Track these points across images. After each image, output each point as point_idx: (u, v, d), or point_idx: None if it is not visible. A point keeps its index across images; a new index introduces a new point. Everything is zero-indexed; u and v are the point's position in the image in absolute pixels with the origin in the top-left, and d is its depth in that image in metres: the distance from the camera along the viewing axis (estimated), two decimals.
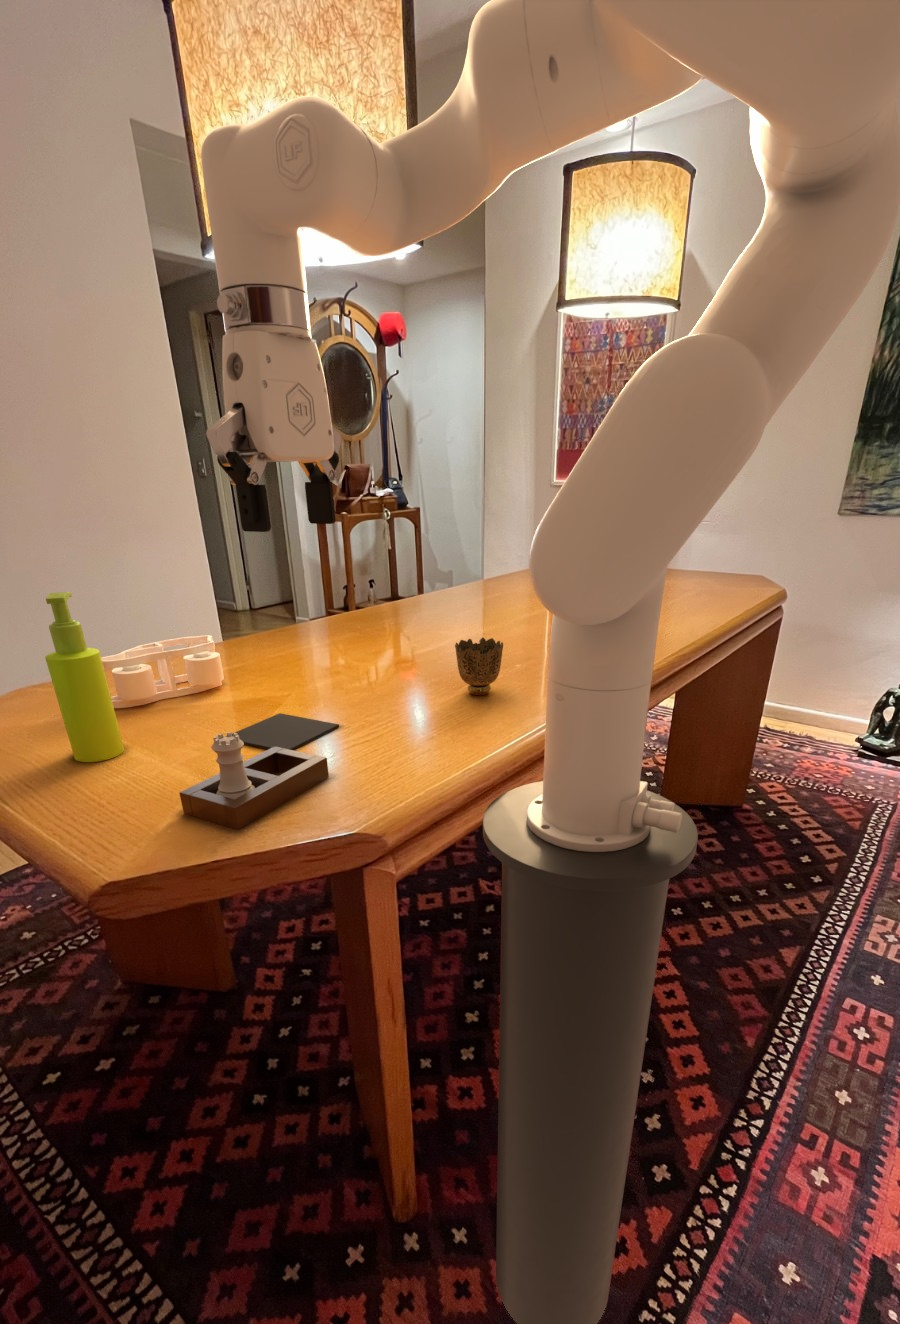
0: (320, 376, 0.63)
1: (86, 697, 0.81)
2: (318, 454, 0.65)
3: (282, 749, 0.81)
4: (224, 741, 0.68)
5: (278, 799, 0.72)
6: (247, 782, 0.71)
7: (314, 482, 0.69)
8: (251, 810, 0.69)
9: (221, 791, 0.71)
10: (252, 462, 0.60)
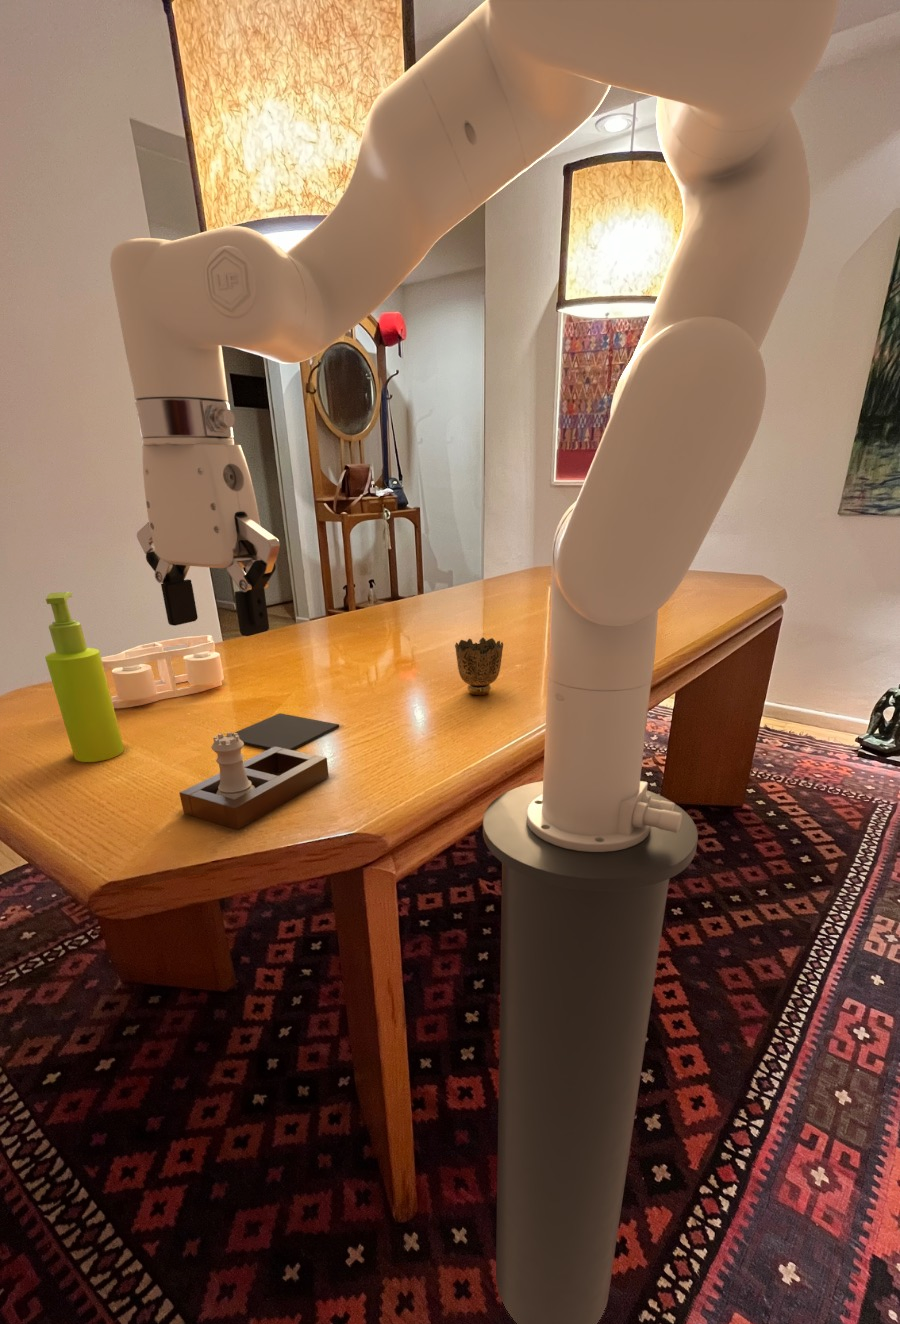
0: None
1: (86, 697, 0.81)
2: None
3: (282, 749, 0.81)
4: (224, 741, 0.68)
5: (278, 799, 0.72)
6: (247, 782, 0.71)
7: (175, 582, 0.66)
8: (251, 810, 0.69)
9: (221, 791, 0.71)
10: None
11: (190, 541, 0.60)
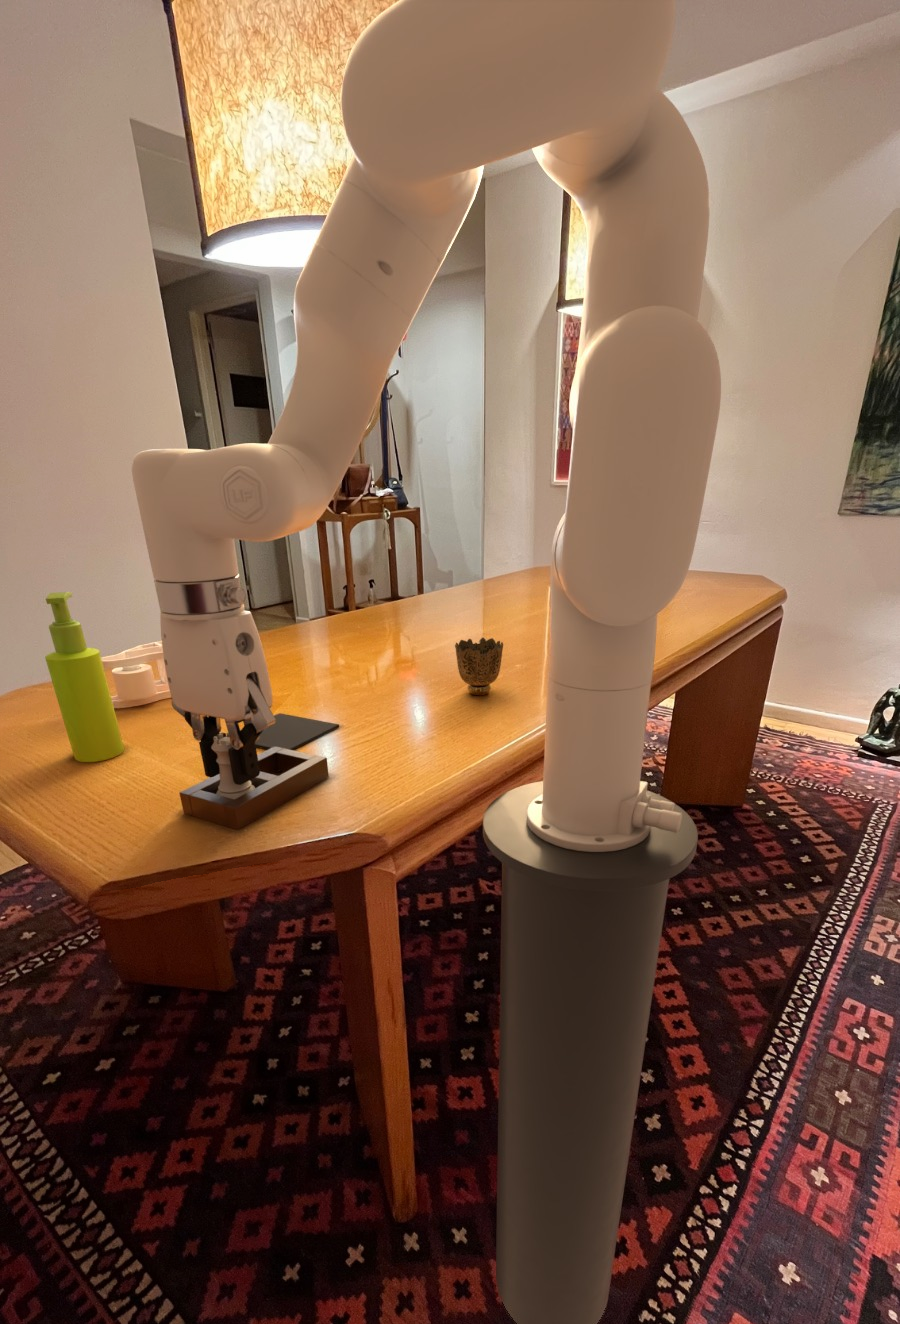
0: None
1: (86, 697, 0.81)
2: None
3: (282, 749, 0.81)
4: (224, 741, 0.68)
5: (278, 799, 0.72)
6: (247, 782, 0.71)
7: (212, 738, 0.70)
8: (251, 810, 0.69)
9: (221, 791, 0.71)
10: None
11: (205, 697, 0.65)
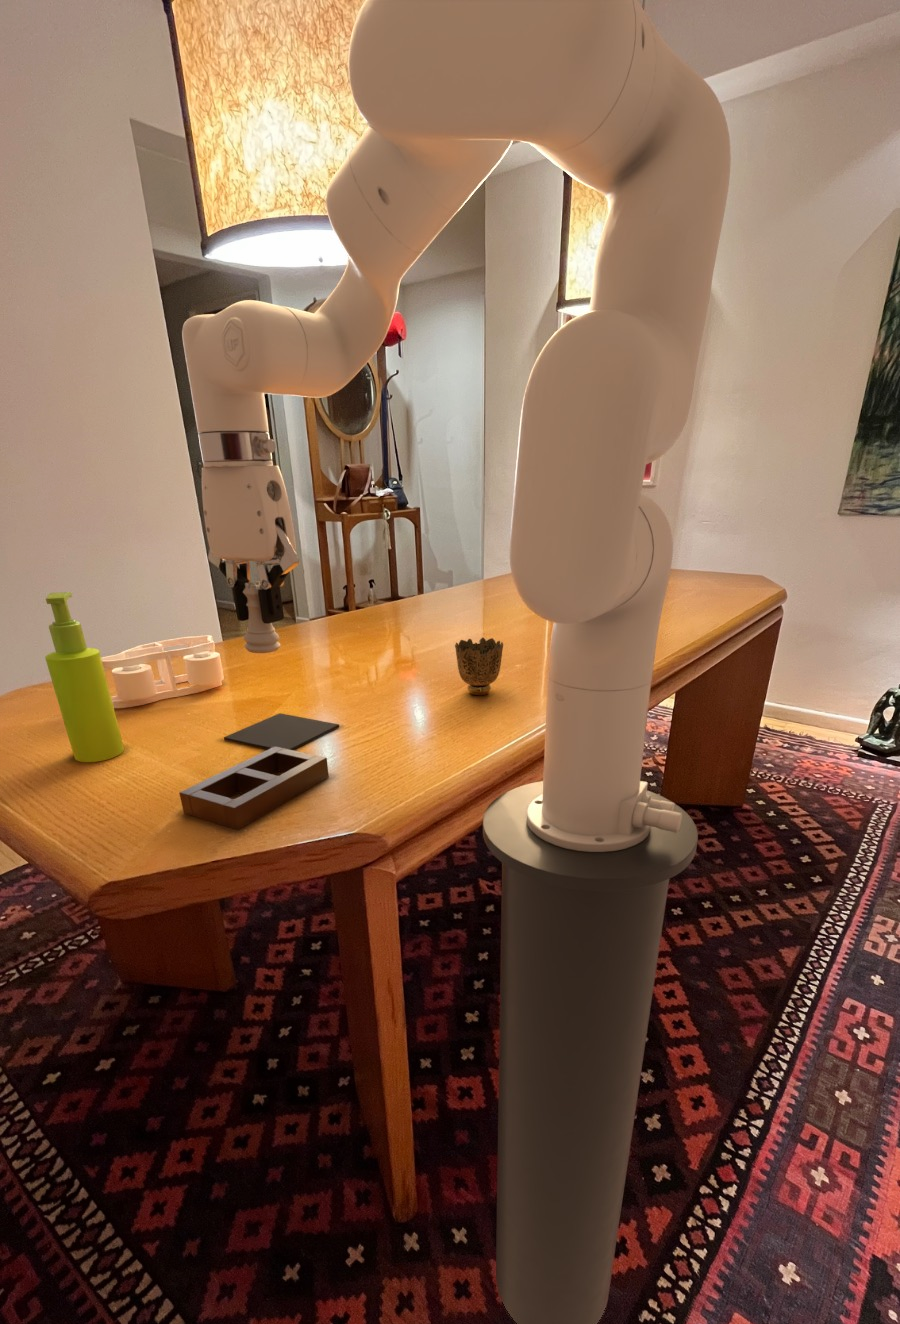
0: None
1: (86, 697, 0.81)
2: None
3: (282, 749, 0.81)
4: (254, 585, 0.80)
5: (278, 799, 0.72)
6: (271, 626, 0.83)
7: (243, 586, 0.82)
8: (251, 810, 0.69)
9: (249, 632, 0.82)
10: None
11: (240, 541, 0.77)
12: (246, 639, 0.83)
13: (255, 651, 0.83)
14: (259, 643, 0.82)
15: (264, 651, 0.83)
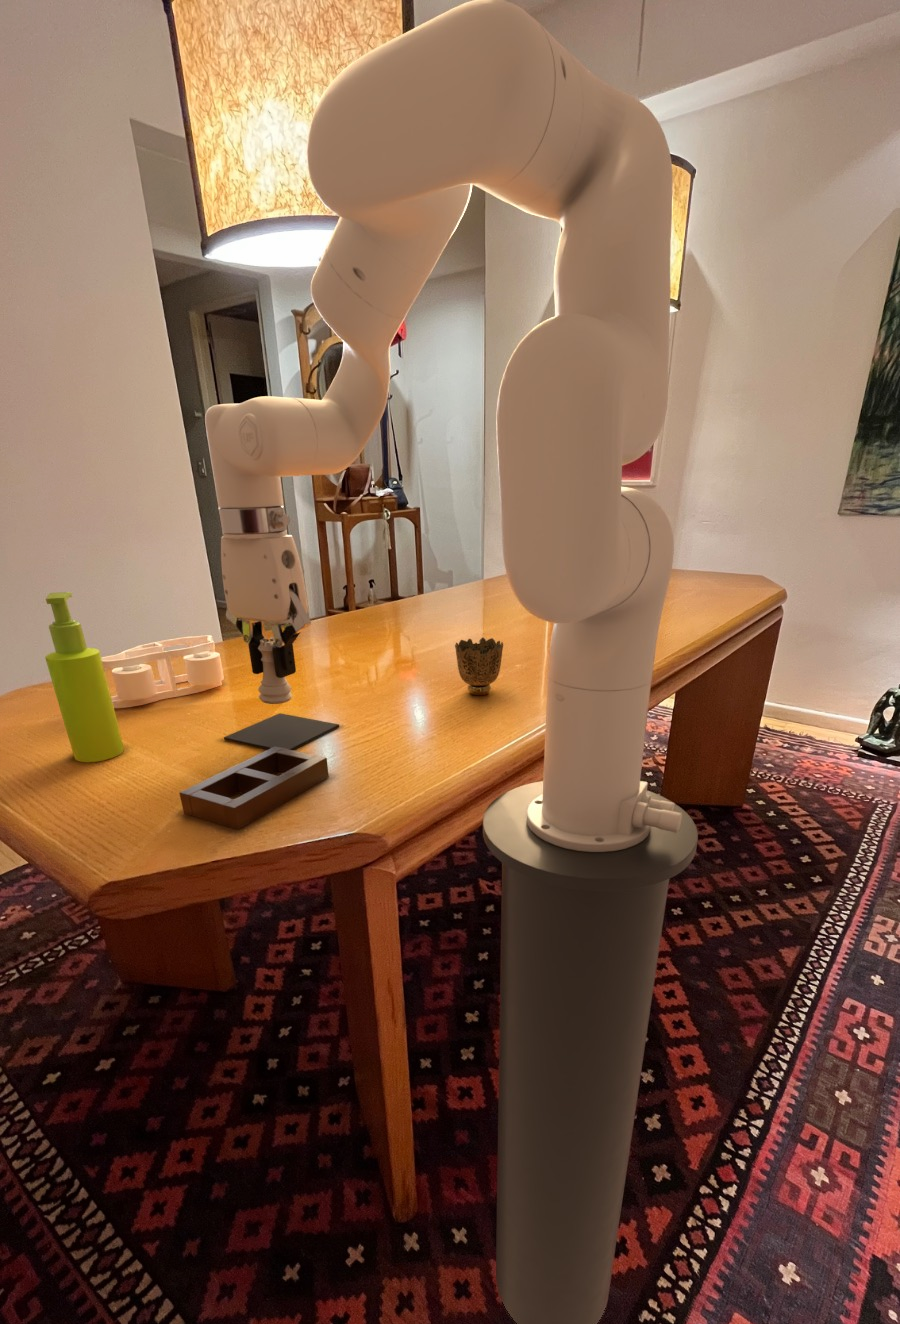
0: None
1: (86, 697, 0.81)
2: None
3: (282, 749, 0.81)
4: (269, 643, 0.86)
5: (278, 799, 0.72)
6: (284, 679, 0.89)
7: (258, 642, 0.88)
8: (251, 810, 0.69)
9: (264, 685, 0.88)
10: None
11: (256, 604, 0.83)
12: (260, 691, 0.89)
13: (269, 702, 0.89)
14: (273, 695, 0.88)
15: (277, 702, 0.89)
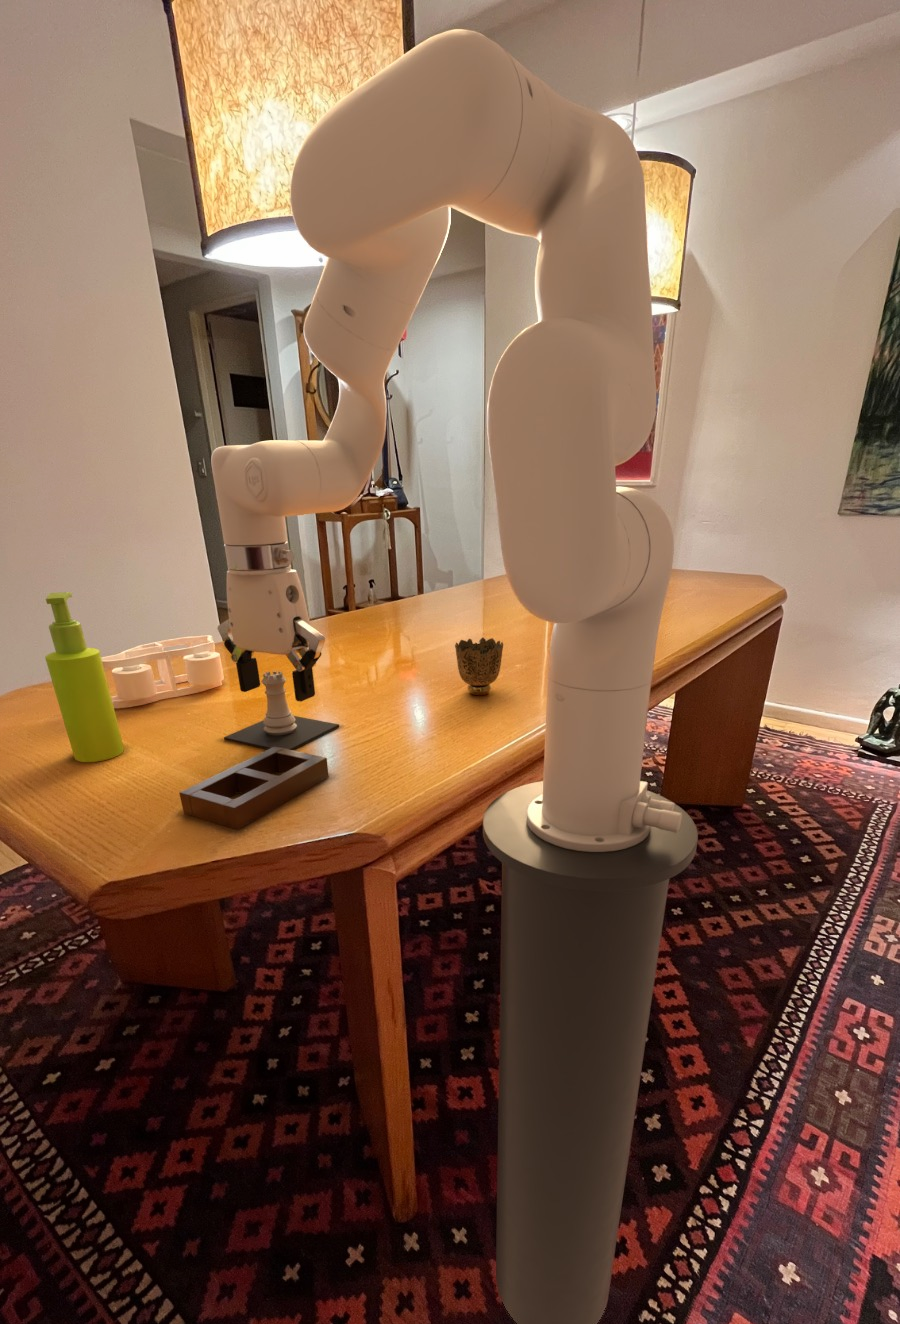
0: None
1: (86, 697, 0.81)
2: None
3: (282, 749, 0.81)
4: (272, 676, 0.88)
5: (278, 799, 0.72)
6: (288, 710, 0.91)
7: (246, 661, 0.90)
8: (251, 810, 0.69)
9: (268, 717, 0.90)
10: None
11: (261, 637, 0.84)
12: (265, 723, 0.91)
13: (274, 733, 0.91)
14: (277, 726, 0.90)
15: (281, 733, 0.91)
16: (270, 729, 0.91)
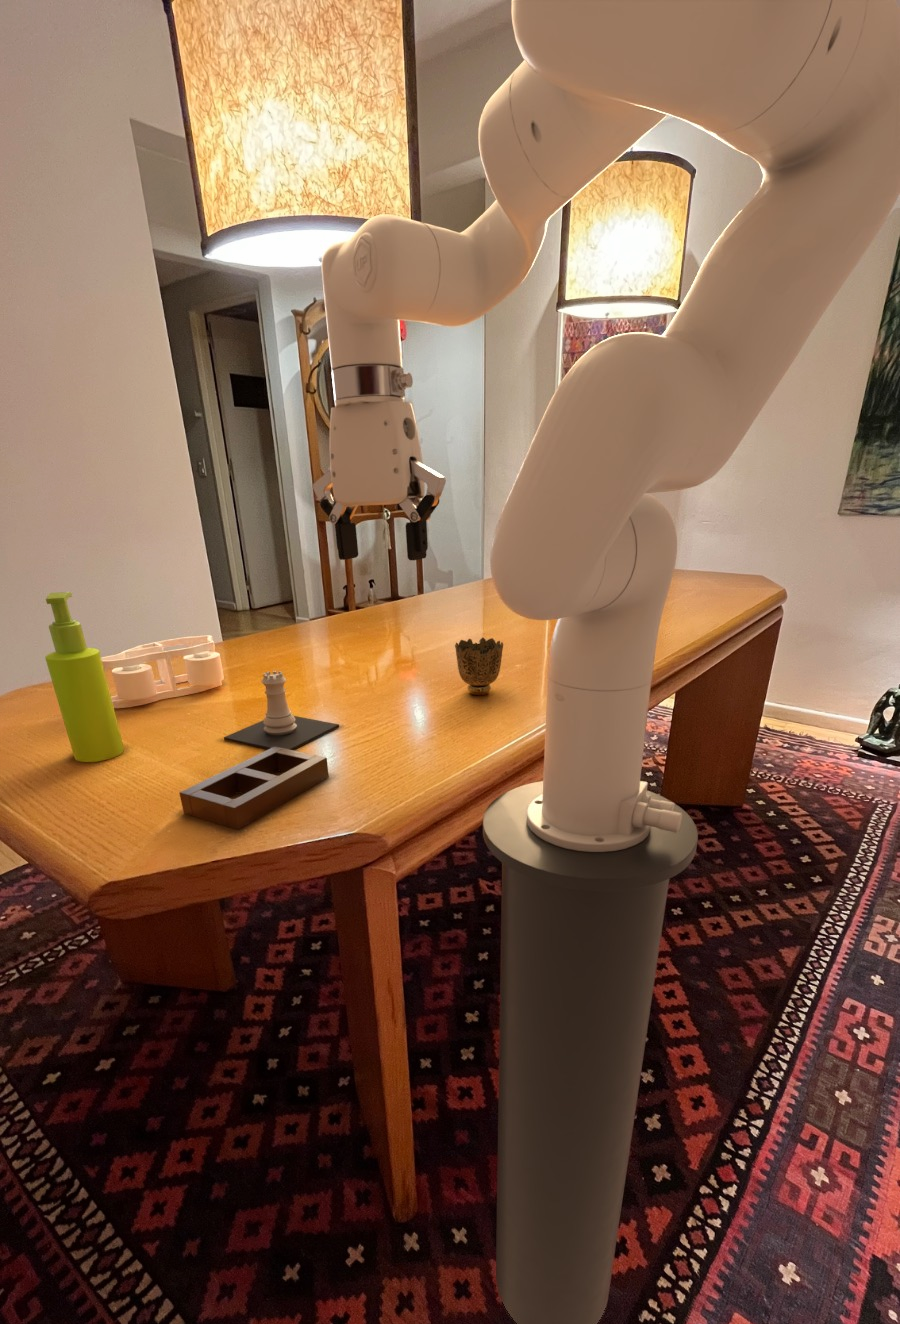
0: None
1: (86, 697, 0.81)
2: None
3: (282, 749, 0.81)
4: (272, 676, 0.88)
5: (278, 799, 0.72)
6: (288, 710, 0.91)
7: (345, 523, 0.80)
8: (251, 810, 0.69)
9: (268, 717, 0.90)
10: None
11: (370, 483, 0.74)
12: (265, 723, 0.91)
13: (274, 733, 0.91)
14: (277, 726, 0.90)
15: (281, 733, 0.91)
16: (270, 729, 0.91)
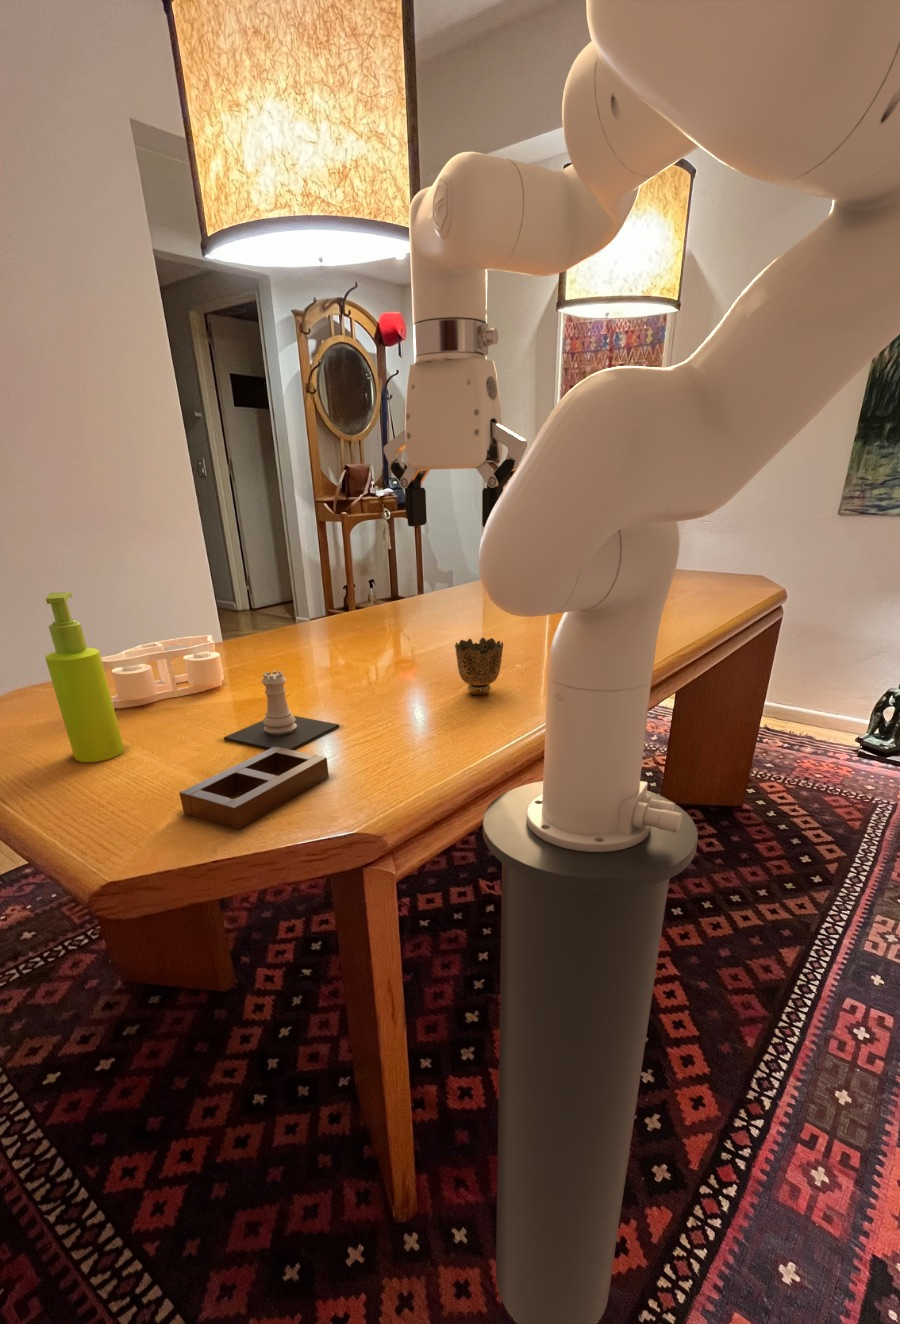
0: None
1: (86, 697, 0.81)
2: None
3: (282, 749, 0.81)
4: (272, 676, 0.88)
5: (278, 799, 0.72)
6: (288, 710, 0.91)
7: (416, 488, 0.77)
8: (251, 810, 0.69)
9: (268, 717, 0.90)
10: None
11: (447, 445, 0.71)
12: (265, 723, 0.91)
13: (274, 733, 0.91)
14: (277, 726, 0.90)
15: (281, 733, 0.91)
16: (270, 729, 0.91)
